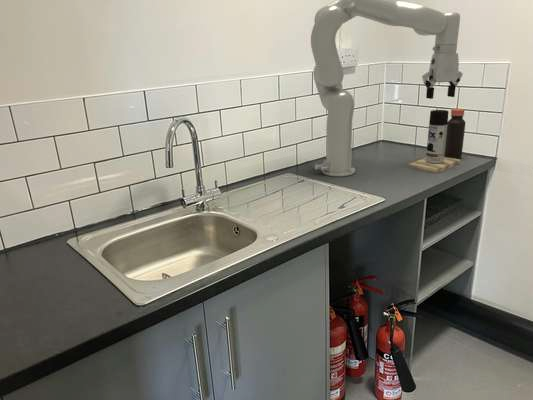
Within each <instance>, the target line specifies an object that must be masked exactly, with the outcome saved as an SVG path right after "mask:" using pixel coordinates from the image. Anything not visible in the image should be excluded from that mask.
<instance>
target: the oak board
mask: <svg viewBox="0 0 533 400" xmlns="http://www.w3.org/2000/svg"><path fill="white" fill-rule="evenodd" d="M460 164H461V159H454V158H448V157H444V161H443V163H440V164H432V163H428V162H426V157H424V158H421V159H418V160H415V161H413V162H410V163H408V168H409V169H415V170H419V171H424V172H428V173H433V174H439V173H441V172H444V171H445V170H448V169H450V168H452V167H455V166H457V165H460Z"/></svg>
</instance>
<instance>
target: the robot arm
mask: <svg viewBox="0 0 533 400" xmlns="http://www.w3.org/2000/svg"><path fill="white" fill-rule="evenodd" d="M356 17H360V18H364V19H367V20H371V21H374V22H378V23H380V24H383V25H386V26H392V27H403V28H408V29H412V30H413V31H414V32H415V34H417V35H419V36H435V42H434V46H433V47H432V51H433V53H432V56H431V59H430V65H429V67H428V68H429V69H428V71H427V72H426V73H424V74H423V75H422V76H421V79H422V81H423V84H424V85H425V88H426V92H425V93H426V94H425V95H426V97H425V98H426V99H430V100H433V99H434V94H435V92H434V91H435V88H434V86H435V85H436V83H449V85H448V87H447V94H446V95H447V97H449V98H455V95H456V87H457V86H459V85H458V84H459V83H460V81H461V79H462V77H463V72H462V71H459V61H460V60H459V53H457V48H458V41H459V40H458V39H459V33H460V32H459V31H460V22H461V14H460V13H459V12H441V11H439V10H437V9H434V8H430V7H428V6H425V5H420V4H416V3H412V2H408V1H404V0H334V1H332V2H331V3H328V4H327V5H325V6H323V7H321V8H319V9H318V10H317V11H316V13H315V16H314V21H313V22H314V24H313V27H312V30H311V34H310V48H311V52H312V55H313V59H314V63H315V65H314V67H313V74H312V75H313V80H314V83H315V86H316V90H317V92H318V96H319V99H320V102H321V105H322V106H323V108H324V109H325V110H327V116H326V126H325V127H326V129H325V131H326V135H325V136H326V138H325V139H326V143H325V144H326V145H325V146H326V148H325V150H326V151H325V153H326V159H325V160H323V163H321V164H314V170H316V171H317V170H320V171H321V173H323V175H326V176H330V177H347V176H348V177H349V176H353V174H355V173H356V169H355V168H354V167H353V166H352V144H353V143H352V142H353V140H352V139H353V138H352V137H353V119H354V118H353V116H354V112H355V100H354V97H353V95H352V93H350V92H349V91H348V90H347V89H344V88H343V84H342V82H343V80H344V77H345V75H344V74H345V73H344V72H345V71H344V69H343V65H342V61H341V58H340V54H339V52H338V47H337V45H336V44H337V42H336V38H337V37H336V36H337V33H338V31H339V29H340V28H341V27H342V26H343V24H345V23H347V22H348V21H350V20H352V19H354V18H356Z"/></svg>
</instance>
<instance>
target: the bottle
mask: <svg viewBox="0 0 533 400" xmlns="http://www.w3.org/2000/svg"><path fill="white" fill-rule="evenodd" d="M464 116H465V109H463V108H451V110H450V117H451V118H450V119H448V125H447V134H446V143H445V153H444V157H448V158H454V159H459V160H461V159H462V155H463V147H464V139H465V129H466V121H465V120H464V118H463V117H464Z"/></svg>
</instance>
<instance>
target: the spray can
mask: <svg viewBox="0 0 533 400" xmlns="http://www.w3.org/2000/svg"><path fill="white" fill-rule="evenodd" d="M448 121H449V111H448V110H446V109H433V110H430V113H429V123H428V131H427V133H428V134H427V144H426V157H425V158H426V162H428V163H432V164H440V163H443V161H444V153H445V143H446V134H447V125H448Z"/></svg>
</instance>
